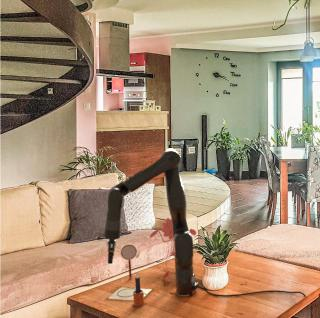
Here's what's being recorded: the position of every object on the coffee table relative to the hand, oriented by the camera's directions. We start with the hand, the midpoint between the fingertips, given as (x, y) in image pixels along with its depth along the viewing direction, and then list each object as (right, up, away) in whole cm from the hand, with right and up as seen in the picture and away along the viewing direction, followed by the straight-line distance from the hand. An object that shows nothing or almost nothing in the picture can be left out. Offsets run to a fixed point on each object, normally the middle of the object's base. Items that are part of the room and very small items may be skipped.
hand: (110, 260), depth 214 cm
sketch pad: (+6, -21, +13) cm, 25 cm away
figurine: (+25, -18, +35) cm, 47 cm away
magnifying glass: (+1, -19, +34) cm, 39 cm away
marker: (+14, -21, +1) cm, 26 cm away
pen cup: (+14, -22, +1) cm, 26 cm away
